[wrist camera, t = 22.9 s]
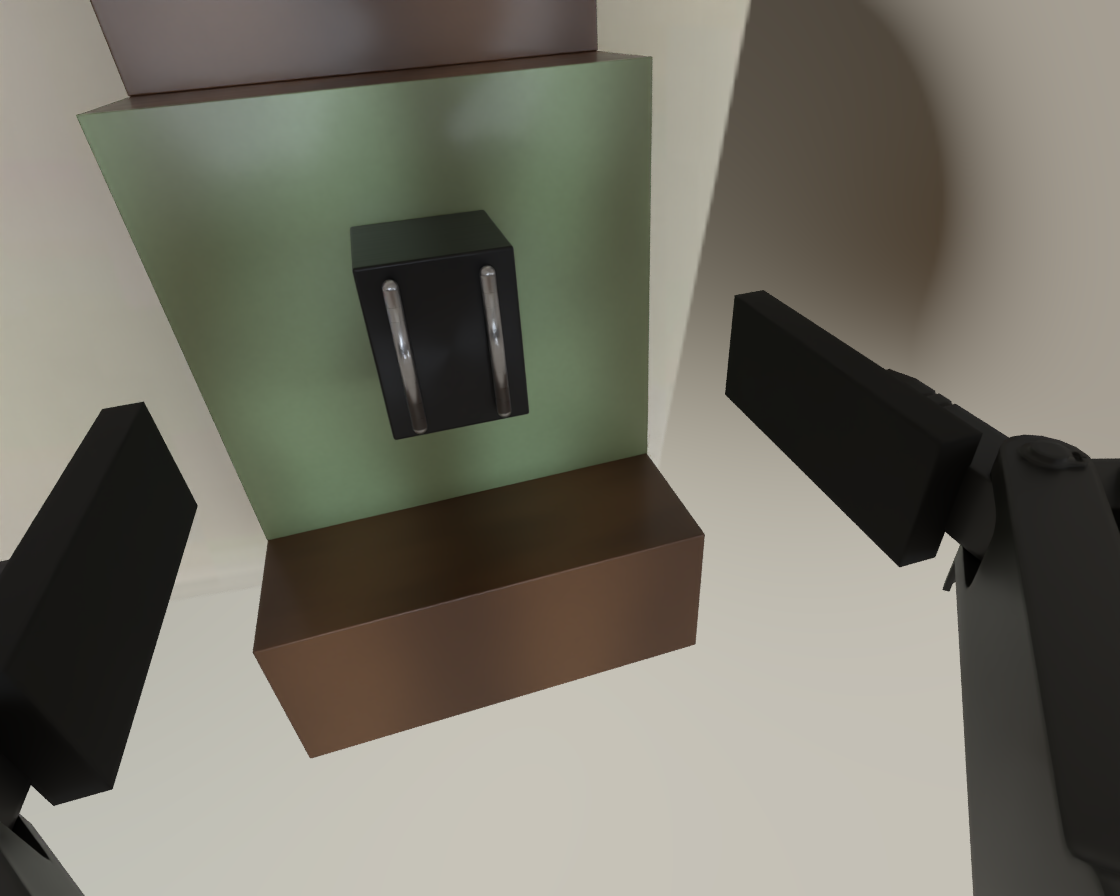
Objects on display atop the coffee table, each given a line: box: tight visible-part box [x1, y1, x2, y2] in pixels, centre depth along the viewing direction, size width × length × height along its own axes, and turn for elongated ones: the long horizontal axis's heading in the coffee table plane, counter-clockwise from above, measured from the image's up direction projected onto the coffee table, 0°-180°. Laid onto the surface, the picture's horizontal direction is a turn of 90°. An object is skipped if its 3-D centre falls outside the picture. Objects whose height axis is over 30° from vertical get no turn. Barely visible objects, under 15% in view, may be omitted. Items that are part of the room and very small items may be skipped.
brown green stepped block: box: [76, 0, 705, 758], centre depth 22 cm, size 15×26×13 cm, turn 4°
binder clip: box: [350, 210, 529, 440], centre depth 18 cm, size 4×5×4 cm
